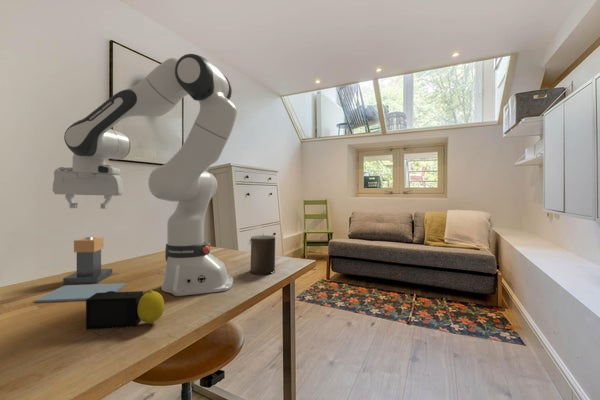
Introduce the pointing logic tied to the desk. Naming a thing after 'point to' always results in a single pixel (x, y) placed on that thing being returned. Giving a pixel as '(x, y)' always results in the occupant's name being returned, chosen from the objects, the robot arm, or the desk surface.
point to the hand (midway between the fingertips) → (88, 208)
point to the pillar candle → (262, 254)
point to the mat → (79, 292)
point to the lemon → (150, 307)
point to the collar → (88, 244)
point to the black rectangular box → (113, 310)
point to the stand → (88, 268)
